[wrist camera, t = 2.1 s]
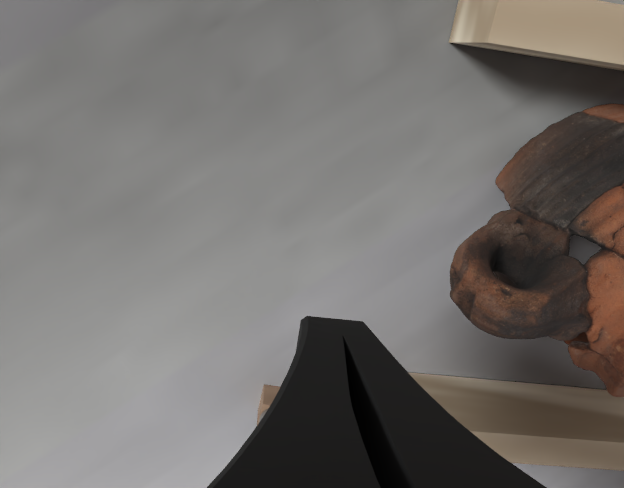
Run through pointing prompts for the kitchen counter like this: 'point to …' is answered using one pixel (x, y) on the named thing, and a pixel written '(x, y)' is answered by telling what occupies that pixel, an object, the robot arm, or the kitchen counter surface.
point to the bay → (528, 396)
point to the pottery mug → (555, 246)
